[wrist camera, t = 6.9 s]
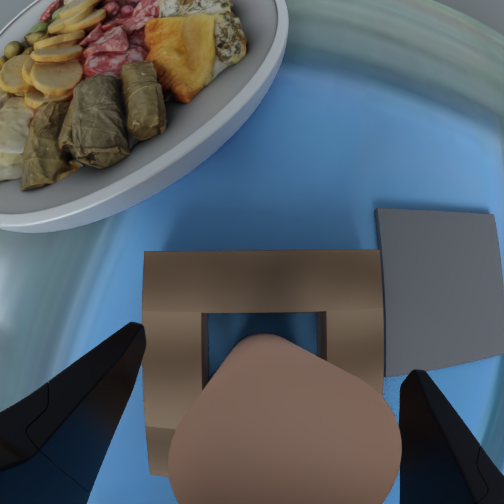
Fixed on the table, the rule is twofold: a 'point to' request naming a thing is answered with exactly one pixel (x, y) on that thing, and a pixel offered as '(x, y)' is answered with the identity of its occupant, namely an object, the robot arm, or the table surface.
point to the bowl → (123, 99)
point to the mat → (439, 288)
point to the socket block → (250, 302)
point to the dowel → (284, 433)
